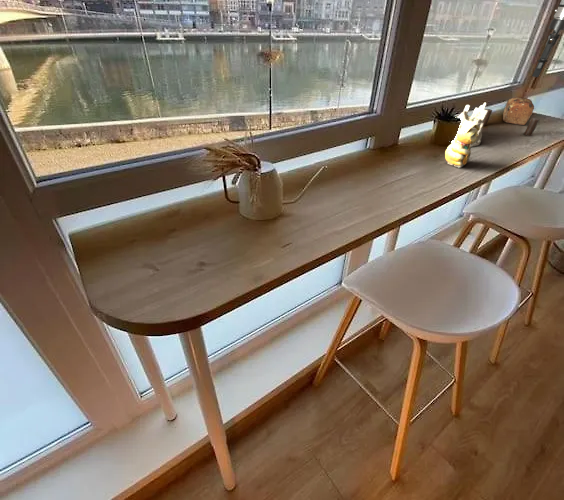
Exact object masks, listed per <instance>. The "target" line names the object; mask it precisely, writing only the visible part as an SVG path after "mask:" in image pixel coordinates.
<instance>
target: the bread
mask: <svg viewBox="0 0 564 500" xmlns="http://www.w3.org/2000/svg"><path fill="white" fill-rule="evenodd" d="M534 110H535V105H534V103H533V100H532V99H530V98H527V97H522V96H515V97H512V98H509V99H508V100H507V102H506V103H505V107H504V110H503V111H502V112H503V113H502V120H503V122H504V123H507V124H513V125H514V124H515V125H519V126H525V125H526V124H528V123H527V122H528V121H529V119H530V118H531V117H532V114H533V112H534Z"/></svg>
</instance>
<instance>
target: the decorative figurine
mask: <svg viewBox="0 0 564 500" xmlns="http://www.w3.org/2000/svg"><path fill="white" fill-rule="evenodd" d="M476 123H477V121H474V122H472V123H470V124H469V125H468V126H467V127H463V128H461V129H460V130H459V131H458V133H457V139H456V140H455V142H453V143H452V142H451V143H450V144H449V145H448V146H447V148H446V149H445V152H444V157H445V161H446V162H447V165H450V166H453V167H456V168H458V169H460V168H463V167H464V166H465V165H467V163H468V161H469V160H470V158H471V153H472V151H471V148H472V147H471V145H470V144H472V143H473V142H475V141H476V140H477V139H478V134H477V133H478V130H480V125H477V124H476ZM475 124H476V125H475Z"/></svg>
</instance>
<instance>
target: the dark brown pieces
mask: <svg viewBox="0 0 564 500" xmlns="http://www.w3.org/2000/svg"><path fill="white" fill-rule="evenodd" d="M485 110H488V111H487V113H486V116H485V119H484V123H483V127H486V126H487V125H488V122H489V120H490V118H491V115H492V113H493V110H492V109H491V108H485ZM539 122H540V118H537V117H532V118H531V119H530V121H529V123H528V125H527V126H526V128H525V131H524V133H523V135H524V136H527V137H531V136H533V134H534V132H535V129H536V128H537V125H538V124H539Z"/></svg>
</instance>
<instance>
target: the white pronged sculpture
mask: <svg viewBox="0 0 564 500" xmlns="http://www.w3.org/2000/svg"><path fill="white" fill-rule="evenodd" d="M486 106H487V102H484V103H483V104H481V105H480V106H479V107H475V108H474V110H473V112H472V114H471V115H469V114H468V113H469V111H470V107H471V105H470V104H466V105H465V107H464V109H463V111H462V112H460V114H458V115H457V116H456V117H458V118H460V120H461V123H460V125H459V128H458V131H459V130H460V129H461V128H463V127H467V126H468V125H469V124H470V123H472V122H474V121H477V123H476V124H477V125H480V130H478V133H477V134H478V139H477V140H476V141H475V142H473V143H472V144H470V145H471V148H472V147H476V146H479V145H481V142H482V137H483V127H484V126H483V123H484V119H485V116H486V113H487V111H488V110H485V109H486ZM476 124H475V125H476ZM458 131H457V133H458ZM456 139H457V134H456V136H455V138H454V140H452V141H451V142H450V143H451V144H452V143H453V142H455V140H456Z"/></svg>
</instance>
